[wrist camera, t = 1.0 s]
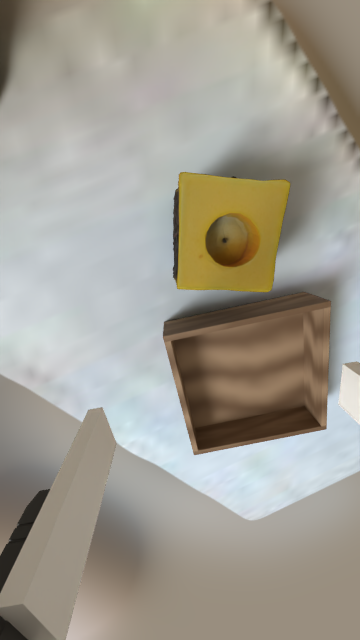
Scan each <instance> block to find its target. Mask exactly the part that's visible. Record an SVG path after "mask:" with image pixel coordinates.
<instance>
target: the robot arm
mask: <svg viewBox="0 0 360 640" xmlns="http://www.w3.org/2000/svg"><path fill="white" fill-rule="evenodd" d="M338 405H340V406H341V407H342V408H343V409H344V410H345V411H346V412H347V413H348V414H349V415H350V416H351V417H352V418H353V419H354V420H355V421H356V422H357V423H358V424H359V425H360V363H359V362H351V363H346V364H343V367H342V376H341V385H340V395H339V404H338ZM115 448H116V441H115V438H114V436H113V433H112V431H111V428H110V426H109V423H108V421H107V418H106V415H105V413H104V410H103V408H102V407H101V408H96V409H90V410H88V412H87V414H86V416H85V418H84V420H83V422H82V425H81V427H80V429H79V431H78V433H77V435H76V437H75V439H74V441H73V443H72V445H71V447H70V449H69V451H68V454H67V456H66V458H65V460H64V462H63V464H62V466H61V468H60V470H59V472H58V474H57V477H56V479H55V481H54V483H53V485H52V487H51V489H48V490H42V491H39V492H38V494H37V495H36V496H35V497H34V499H33V500H32V501H31V502H30V503H29V505H28V506H27V507H26V509H25V511H24V513H23V515H22V517H21V518H20V520H19V522H18V524H17V528H15V530H14V531H13V533H12V535H11V537H10V539H9V543H8V544H6V546H5V548H4V550H3V552H2V554H1V555H0V640H66V636H67V632H68V628H69V624H70V621H71V617H72V613H73V609H74V605H75V602H76V598H77V594H78V590H79V586H80V582H81V579H82V574H83V571H84V567H85V563H86V559H87V555H88V552H89V548H90V544H91V540H92V536H93V532H94V529H95V524H96V520H97V517H98V513H99V509H100V506H101V501H102V498H103V494H104V490H105V486H106V482H107V479H108V475H109V471H110V467H111V463H112V459H113V456H114V451H115Z"/></svg>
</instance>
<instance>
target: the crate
mask: <svg viewBox="0 0 360 640" xmlns="http://www.w3.org/2000/svg"><path fill="white" fill-rule="evenodd" d="M330 309H331V301H329V300H326V299H324V298H321V297H318V296H315V295H312V294H309V293H306V292H302V293H297V294H292V295H288V296H283V297H278V298H274V299H269V300H264V301H260V302H255V303H251V304H246V305H241V306H237V307H232V308H227V309H223V310H218V311H213V312H209V313H204V314H199V315H195V316H190V317H185V318H181V319H176V320H172V321H167V322H164V331H163V339H164V342H165V346H166V350H167V354H168V358H169V361H170V365H171V369H172V373H173V377H174V380H175V384H176V388H177V392H178V396H179V399H180V403H181V407H182V411H183V415H184V419H185V422H186V426H187V430H188V434H189V438H190V441H191V445H192V449H193V453H194V455H197V454H203V453H208V452H213V451H218V450H223V449H228V448H233V447H238V446H243V445H248V444H253V443H259V442H264V441H269V440H274V439H279V438H284V437H289V436H294V435H299V434H304V433H309V432H315V431H320V430H325V429H326V425H327V396H328V367H329V338H330Z"/></svg>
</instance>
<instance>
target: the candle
mask: <svg viewBox="0 0 360 640" xmlns="http://www.w3.org/2000/svg"><path fill="white" fill-rule="evenodd" d="M178 186H179V187H178V189H176V191H175V196H174V212H173V214H174V218H173V224H174V231H173V239H174V242H173V245H174V248H173V250H174V267H173V271H174V272H173V274H174V275H173V278H174V279H175V280H176V283H177V289H186V290H234V291H250V292H269V291H271V289H272V285H273V280H274V272H275V260H276V254H277V248H278V243H279V238H280V233H281V228H282V222H283V218H284V213H285V209H286V205H287V200H288V195H289V190H290V182H289V181H287V180H285V179H284V180H267V181H259V180H253V179H238V178H236V177H231V178H227V177H219V176H212V175H206V174H197V173H188V172H181V173H180V174H179V182H178Z"/></svg>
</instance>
